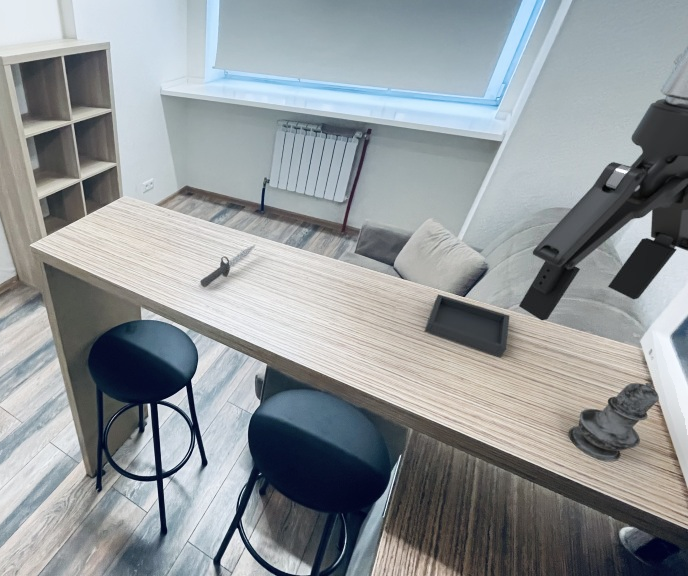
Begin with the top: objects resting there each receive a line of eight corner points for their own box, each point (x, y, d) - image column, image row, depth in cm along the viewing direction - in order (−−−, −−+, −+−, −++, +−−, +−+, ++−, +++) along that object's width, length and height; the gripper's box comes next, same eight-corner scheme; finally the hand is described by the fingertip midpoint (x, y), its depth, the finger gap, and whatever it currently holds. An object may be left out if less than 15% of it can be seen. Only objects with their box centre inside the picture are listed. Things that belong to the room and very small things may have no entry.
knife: (250, 251, 97) (252, 233, 94) (259, 254, 96) (260, 236, 93) (198, 289, 87) (198, 270, 84) (207, 294, 85) (207, 275, 82)
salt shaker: (634, 467, 52) (702, 406, 45) (580, 458, 53) (639, 398, 46) (605, 429, 57) (663, 368, 50) (556, 421, 58) (606, 361, 51)
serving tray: (504, 324, 75) (509, 315, 74) (500, 357, 68) (506, 348, 67) (434, 302, 81) (438, 294, 80) (424, 331, 74) (428, 322, 73)
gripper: (753, 86, 40) (622, 268, 52) (559, 104, 35) (463, 301, 47) (877, 100, 34) (696, 302, 46) (665, 124, 29) (524, 344, 41)
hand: (578, 302), depth 47 cm, fingers open, 13 cm apart
